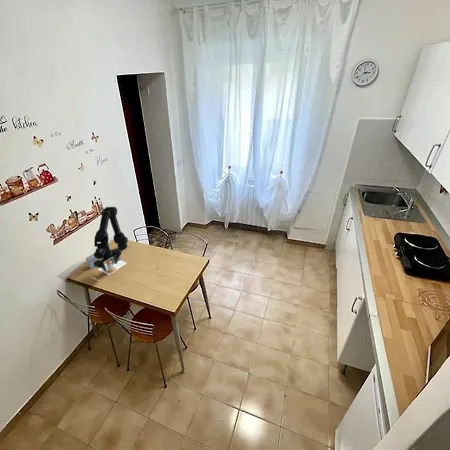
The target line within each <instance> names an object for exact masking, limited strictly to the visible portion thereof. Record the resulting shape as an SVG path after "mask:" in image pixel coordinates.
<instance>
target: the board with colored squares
mask: <svg viewBox="0 0 450 450" xmlns="http://www.w3.org/2000/svg"><path fill="white" fill-rule="evenodd" d="M108 260H112V264H113V267H114V271H112V272H109V270H108V266H107V263H105V264H104V265H105V268H106V271H104V270H103V269H102V268H97V270H98V271H100V272H102V273H104V274H105V275H108V276H110V275H112V274H113V273H114V272H117V271H118V270H119V269H120V268H122V267H123V266H125V265H126V264H127V262H126V261H124V260H122V258H121V256H119V259H118V262H117V264H115V261H114V260H113V259H112V257H111V258H110V259H108Z"/></svg>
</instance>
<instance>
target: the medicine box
mask: <svg viewBox="0 0 450 450" xmlns="http://www.w3.org/2000/svg"><path fill="white" fill-rule="evenodd" d="M85 260H86V263H87V266H88V267H89V268H90V269H92V270H93V269H95V268H97V267H96V266H94V264H93V263H94V262H95V261H97V260H100V261H101V260H102V259H98V258H96V257H95V256H94V253H93V254H91V255H90V256H87V257H85Z"/></svg>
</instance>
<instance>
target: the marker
mask: <svg viewBox="0 0 450 450" xmlns="http://www.w3.org/2000/svg"><path fill="white" fill-rule="evenodd" d="M105 264H107V266H108V270H109V272H112V271H114V267H113V264H112V260H109V259H108V260H107V261H105Z"/></svg>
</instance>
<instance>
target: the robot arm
mask: <svg viewBox="0 0 450 450" xmlns="http://www.w3.org/2000/svg"><path fill="white" fill-rule="evenodd" d="M117 215H118V208H117V207H116V206H106V207H104V208H103V209H102V211H101V218H100V224H99V229H98V230H97V231H96V232H95V236H94V240H93V241H94V247H95V251H94V253H93V254H94V256H95V257H96V258H98V259H100V260H101V261H100V260H97V261H95V262H94V263H93V264H94V266H96V267H95V268H97V269H99V268H102V269H103V270H104V271H106V268H105V264H104V263H106V261H108V260H109V259H110V258H112V257H114V261H115V264H117V262H118V259H119V257H121V255H122V250H126V249H127V248H128V242H129V240H128V237H126V236H125V233H123V232H122V230H121V227H120V225H119V222H118V221H119V220H118V218H117ZM109 222H110V224H111V227H112V230H113V232H114V236H113V242H114V244H115V245H117V248H118V249H117V248H115V249H113V250H112V249H110V245H109V233H108V227H109Z"/></svg>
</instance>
